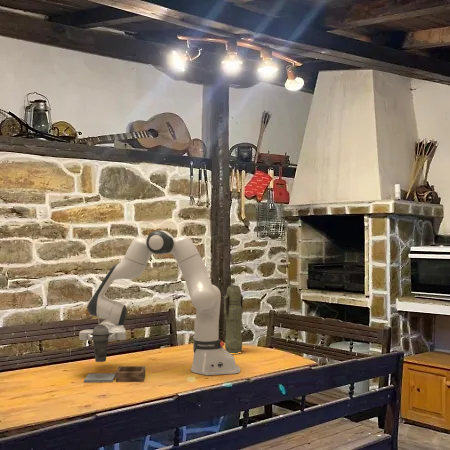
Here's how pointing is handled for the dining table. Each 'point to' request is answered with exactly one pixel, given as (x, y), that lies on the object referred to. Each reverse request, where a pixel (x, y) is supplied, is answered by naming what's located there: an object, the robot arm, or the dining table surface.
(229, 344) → the thermos
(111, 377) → the slate mat
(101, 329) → the beverage cup
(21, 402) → the dining table surface
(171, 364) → the dining table surface
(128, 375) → the walnut collar
